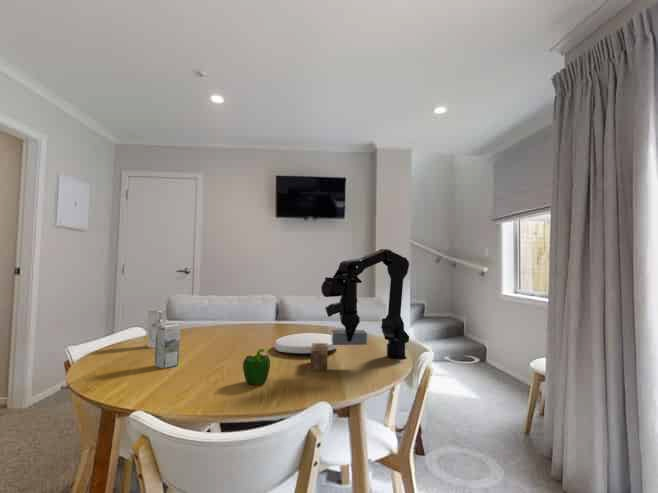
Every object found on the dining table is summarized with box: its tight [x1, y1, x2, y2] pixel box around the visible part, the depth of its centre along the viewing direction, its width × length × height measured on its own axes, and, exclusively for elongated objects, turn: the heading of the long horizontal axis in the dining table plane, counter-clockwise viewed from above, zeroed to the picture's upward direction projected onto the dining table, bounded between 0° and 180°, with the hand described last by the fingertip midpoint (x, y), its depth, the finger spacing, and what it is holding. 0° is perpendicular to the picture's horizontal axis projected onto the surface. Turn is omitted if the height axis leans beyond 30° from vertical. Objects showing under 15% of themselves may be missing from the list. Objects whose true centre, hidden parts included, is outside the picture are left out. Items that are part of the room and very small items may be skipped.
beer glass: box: [146, 309, 166, 349], centre depth 151 cm, size 7×7×15 cm
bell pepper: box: [242, 348, 271, 386], centre depth 107 cm, size 8×8×10 cm
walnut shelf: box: [310, 343, 328, 372], centre depth 125 cm, size 6×11×7 cm, turn 0°
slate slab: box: [330, 329, 368, 346], centre depth 125 cm, size 12×6×4 cm, turn 94°
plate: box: [274, 332, 340, 354], centre depth 149 cm, size 28×6×27 cm
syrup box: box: [154, 322, 181, 370], centre depth 123 cm, size 6×6×14 cm
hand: (348, 339), depth 125 cm, fingers closed on slate slab, 6 cm apart
